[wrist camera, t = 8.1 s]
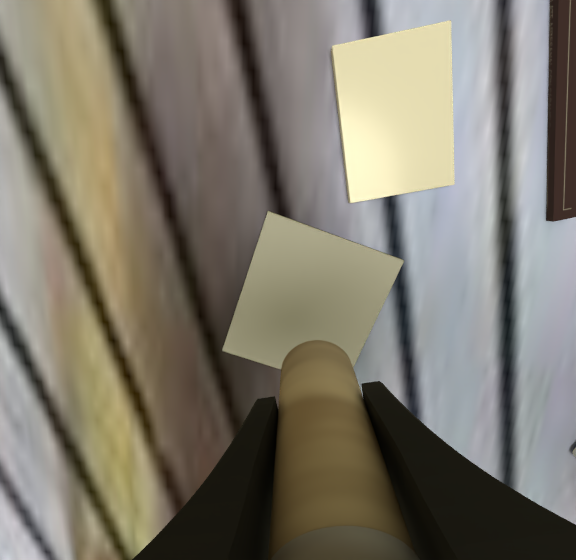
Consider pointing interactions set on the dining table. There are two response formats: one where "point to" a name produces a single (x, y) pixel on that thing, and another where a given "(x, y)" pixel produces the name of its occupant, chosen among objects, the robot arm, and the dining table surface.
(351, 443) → the dowel
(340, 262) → the mat
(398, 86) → the tile
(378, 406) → the robot arm
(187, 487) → the dining table surface
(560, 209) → the chocolate bar
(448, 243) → the dining table surface
